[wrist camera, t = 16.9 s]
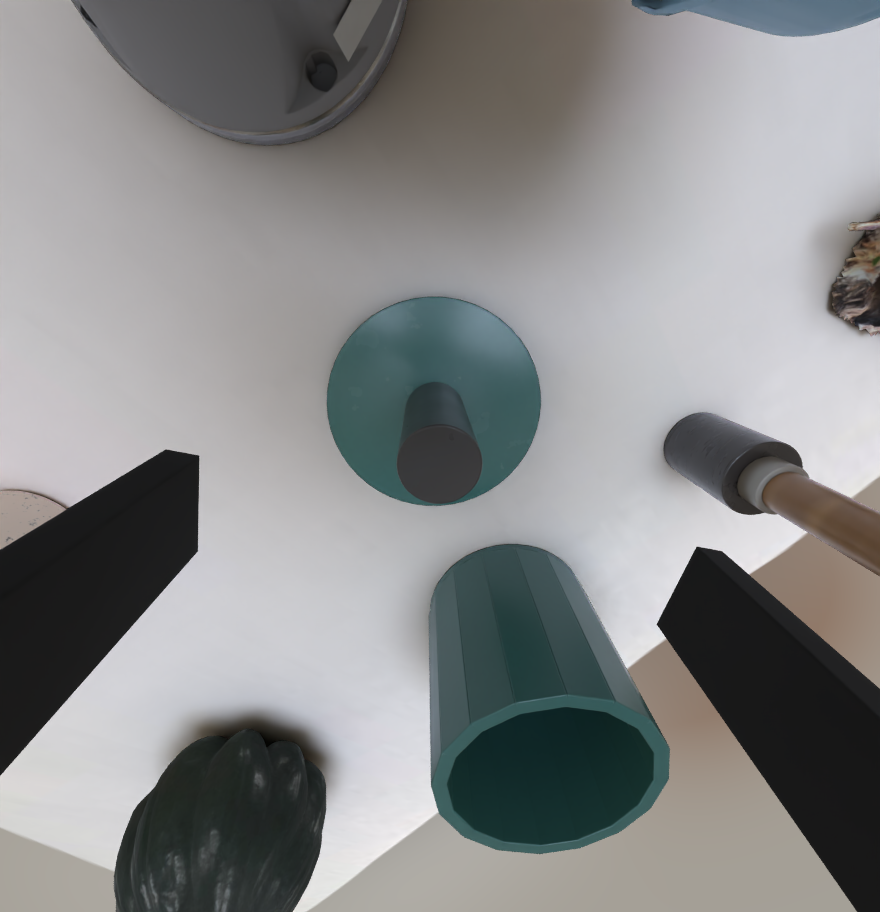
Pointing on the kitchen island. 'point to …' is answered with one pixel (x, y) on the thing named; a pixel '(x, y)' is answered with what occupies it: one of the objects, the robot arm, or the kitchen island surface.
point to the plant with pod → (861, 280)
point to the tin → (533, 709)
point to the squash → (224, 830)
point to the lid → (433, 401)
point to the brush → (770, 484)
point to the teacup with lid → (23, 514)
